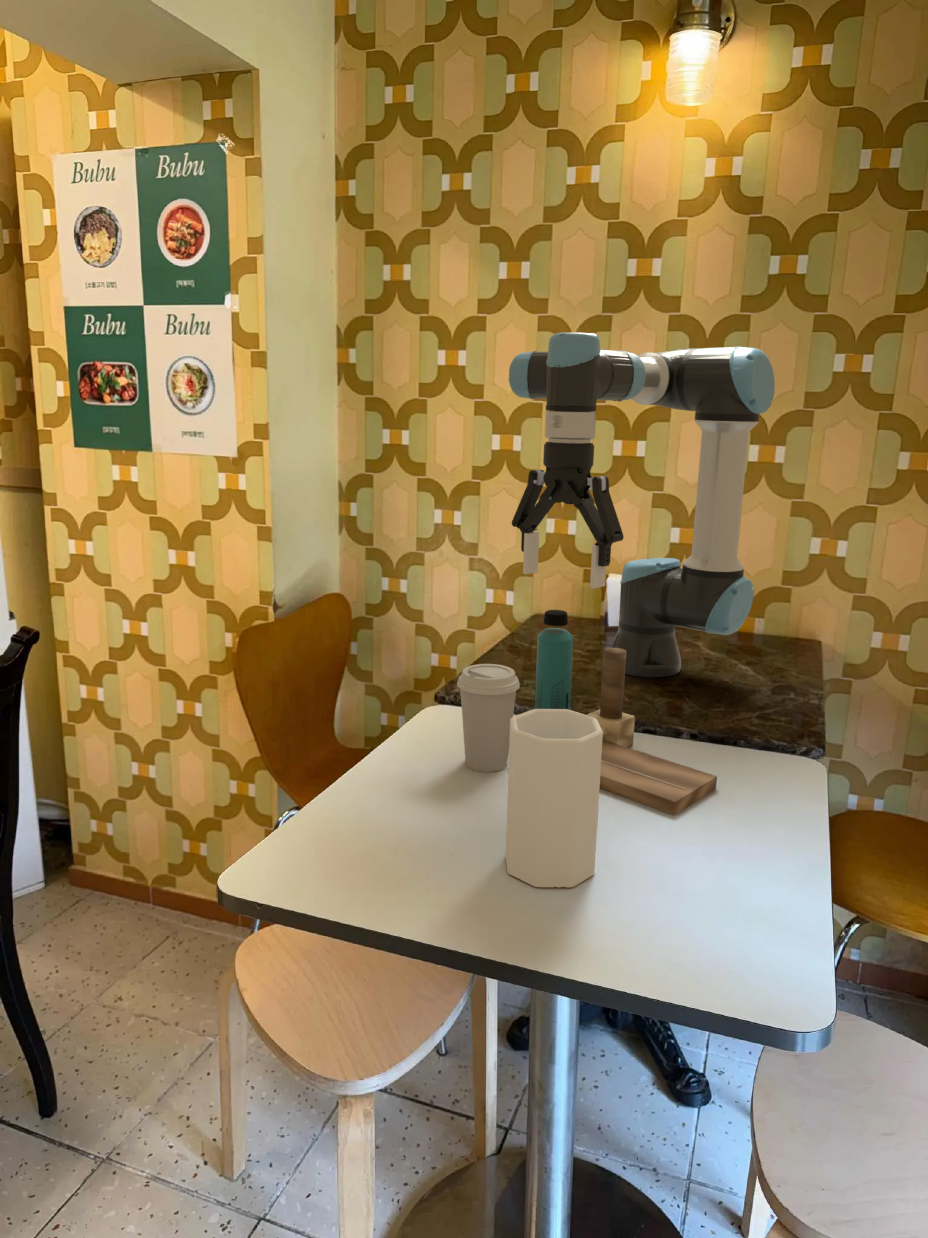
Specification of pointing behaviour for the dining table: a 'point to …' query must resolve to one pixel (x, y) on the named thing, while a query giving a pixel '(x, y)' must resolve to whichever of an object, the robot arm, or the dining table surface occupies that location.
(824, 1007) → the dining table surface
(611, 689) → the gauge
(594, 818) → the cup
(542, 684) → the beverage bottle
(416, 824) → the dining table surface
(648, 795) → the board
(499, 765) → the coffee cup
